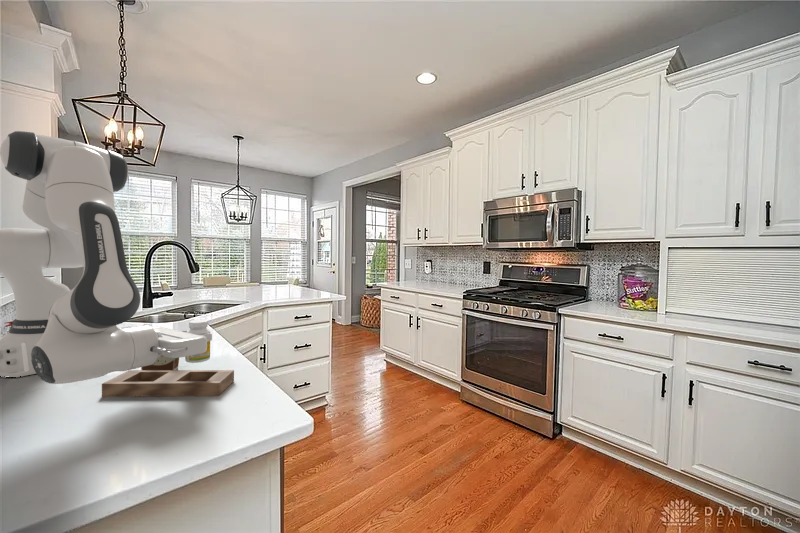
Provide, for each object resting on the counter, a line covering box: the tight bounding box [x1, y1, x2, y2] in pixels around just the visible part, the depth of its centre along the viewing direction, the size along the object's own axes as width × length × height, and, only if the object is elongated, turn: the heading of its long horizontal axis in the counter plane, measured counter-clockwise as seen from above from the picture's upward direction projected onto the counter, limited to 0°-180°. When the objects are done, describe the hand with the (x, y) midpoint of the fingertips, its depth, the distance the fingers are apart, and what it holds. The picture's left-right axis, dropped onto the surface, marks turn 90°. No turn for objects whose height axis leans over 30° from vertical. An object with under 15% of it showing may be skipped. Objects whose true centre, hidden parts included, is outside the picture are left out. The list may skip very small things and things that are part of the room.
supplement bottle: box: [184, 319, 211, 364], centre depth 88 cm, size 5×5×10 cm
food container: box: [140, 356, 180, 370], centre depth 100 cm, size 12×6×10 cm, turn 84°
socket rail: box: [101, 369, 235, 398], centre depth 88 cm, size 26×9×3 cm, turn 96°
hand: (201, 334), depth 88 cm, fingers closed on supplement bottle, 5 cm apart
